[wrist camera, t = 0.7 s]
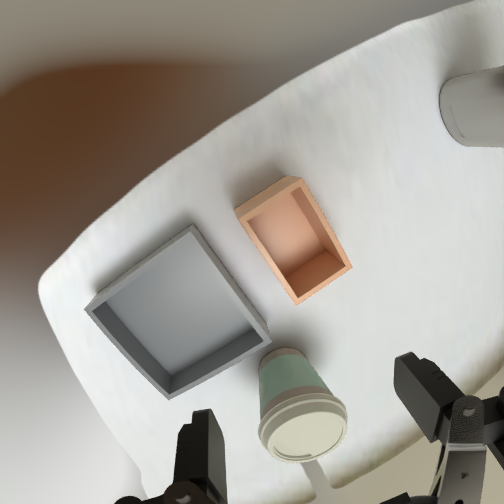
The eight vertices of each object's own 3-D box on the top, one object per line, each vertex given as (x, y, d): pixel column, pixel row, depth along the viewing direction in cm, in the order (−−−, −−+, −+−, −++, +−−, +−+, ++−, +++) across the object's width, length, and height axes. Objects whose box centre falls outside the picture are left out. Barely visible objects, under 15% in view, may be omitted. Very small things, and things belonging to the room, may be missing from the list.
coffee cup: (237, 351, 34) (248, 427, 23) (309, 326, 34) (347, 393, 23) (259, 401, 36) (274, 475, 25) (323, 380, 37) (356, 447, 25)
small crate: (285, 175, 30) (301, 177, 24) (329, 250, 32) (352, 267, 26) (233, 209, 30) (237, 219, 24) (281, 282, 32) (295, 305, 27)
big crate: (193, 223, 30) (190, 231, 26) (266, 323, 34) (272, 342, 30) (97, 294, 31) (84, 309, 27) (171, 378, 34) (168, 400, 30)
